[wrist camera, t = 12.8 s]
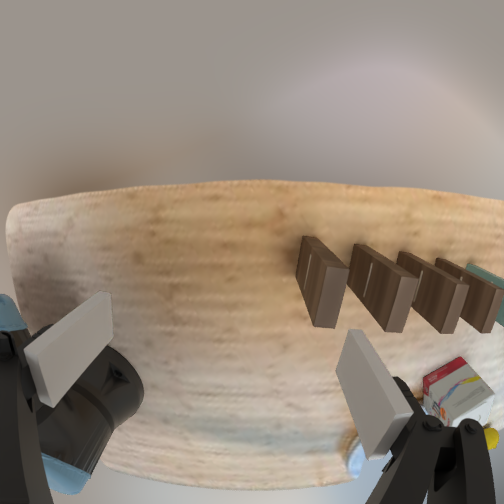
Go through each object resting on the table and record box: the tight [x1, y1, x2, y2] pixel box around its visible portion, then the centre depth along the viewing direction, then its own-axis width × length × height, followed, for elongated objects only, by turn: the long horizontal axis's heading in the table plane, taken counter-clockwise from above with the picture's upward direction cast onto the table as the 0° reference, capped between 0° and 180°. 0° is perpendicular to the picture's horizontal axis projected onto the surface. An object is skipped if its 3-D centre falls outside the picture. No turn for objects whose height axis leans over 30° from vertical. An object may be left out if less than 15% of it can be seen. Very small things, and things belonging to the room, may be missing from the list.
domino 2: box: [346, 244, 419, 333], centre depth 28 cm, size 2×5×13 cm, turn 172°
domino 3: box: [396, 251, 470, 334], centre depth 28 cm, size 2×5×13 cm, turn 172°
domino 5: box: [466, 264, 504, 327], centre depth 28 cm, size 2×5×13 cm, turn 172°
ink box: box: [423, 357, 495, 427], centre depth 33 cm, size 9×9×12 cm
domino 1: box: [296, 236, 350, 329], centre depth 28 cm, size 2×5×13 cm, turn 172°
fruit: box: [484, 428, 499, 450], centre depth 39 cm, size 6×6×8 cm
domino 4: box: [435, 258, 504, 333], centre depth 28 cm, size 2×5×13 cm, turn 172°
